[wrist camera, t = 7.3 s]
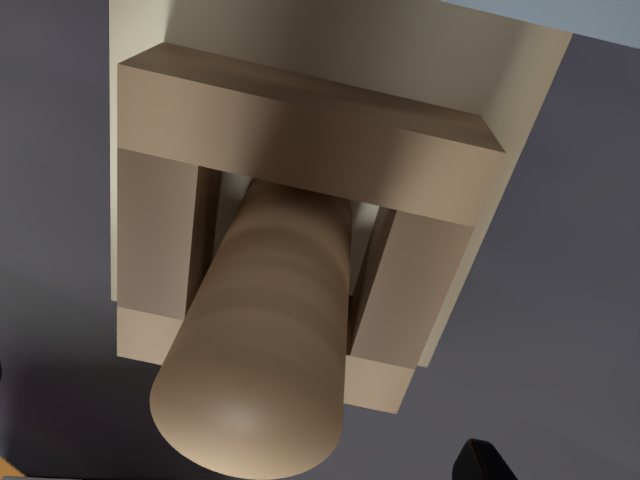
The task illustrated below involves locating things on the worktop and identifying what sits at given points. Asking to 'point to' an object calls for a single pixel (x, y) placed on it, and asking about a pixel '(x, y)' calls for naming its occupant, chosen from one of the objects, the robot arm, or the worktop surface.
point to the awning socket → (327, 147)
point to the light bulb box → (31, 478)
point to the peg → (264, 341)
